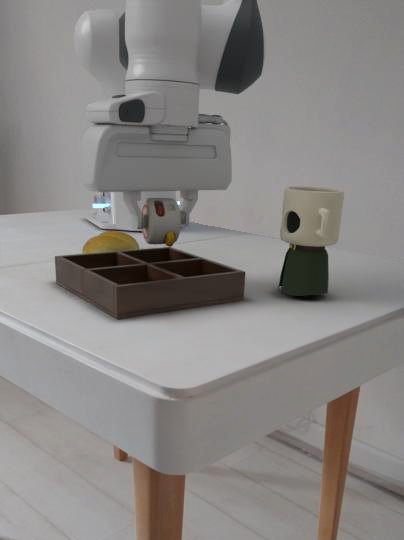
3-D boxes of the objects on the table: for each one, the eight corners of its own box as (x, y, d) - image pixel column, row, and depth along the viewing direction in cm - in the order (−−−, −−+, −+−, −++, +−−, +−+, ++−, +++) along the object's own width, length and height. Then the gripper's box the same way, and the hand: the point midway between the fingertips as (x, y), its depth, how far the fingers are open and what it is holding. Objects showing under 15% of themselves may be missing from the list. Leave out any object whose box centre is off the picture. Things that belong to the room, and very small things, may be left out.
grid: (55, 283, 72) (54, 255, 71) (169, 270, 81) (170, 246, 80) (116, 319, 59) (116, 287, 58) (243, 300, 68) (245, 271, 67)
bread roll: (75, 261, 85) (74, 234, 83) (99, 251, 93) (98, 226, 91) (126, 266, 83) (126, 239, 81) (147, 255, 91) (147, 230, 89)
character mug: (264, 284, 76) (273, 184, 72) (314, 284, 78) (326, 186, 73) (287, 307, 66) (299, 192, 62) (345, 306, 68) (361, 194, 63)
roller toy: (172, 239, 77) (173, 195, 75) (184, 248, 72) (186, 201, 69) (140, 239, 76) (140, 195, 74) (150, 248, 70) (151, 200, 68)
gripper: (216, 115, 76) (211, 220, 81) (73, 105, 65) (77, 227, 70) (245, 115, 71) (238, 226, 76) (96, 104, 60) (99, 235, 65)
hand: (160, 227), depth 73 cm, fingers closed on roller toy, 5 cm apart
